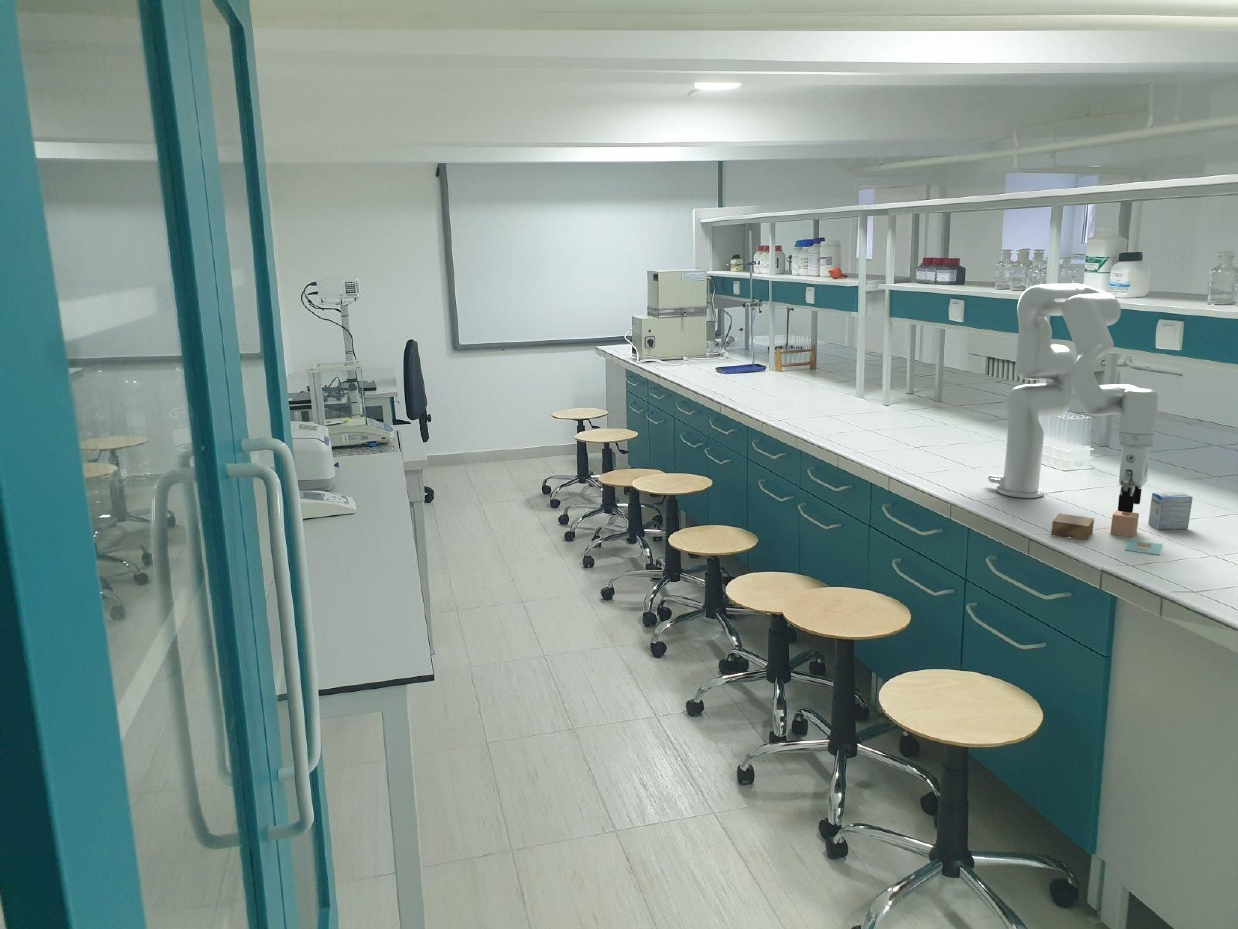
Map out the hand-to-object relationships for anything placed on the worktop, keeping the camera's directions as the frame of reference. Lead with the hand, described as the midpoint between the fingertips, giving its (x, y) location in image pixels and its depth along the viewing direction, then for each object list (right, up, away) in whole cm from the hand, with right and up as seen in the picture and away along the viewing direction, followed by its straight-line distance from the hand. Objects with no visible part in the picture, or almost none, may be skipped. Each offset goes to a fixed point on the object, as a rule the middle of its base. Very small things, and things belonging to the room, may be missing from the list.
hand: (1128, 507), depth 226 cm
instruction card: (-2, -9, -9) cm, 13 cm away
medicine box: (+14, -6, +7) cm, 16 cm away
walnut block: (-13, -7, +2) cm, 15 cm away
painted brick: (0, -7, +2) cm, 7 cm away
